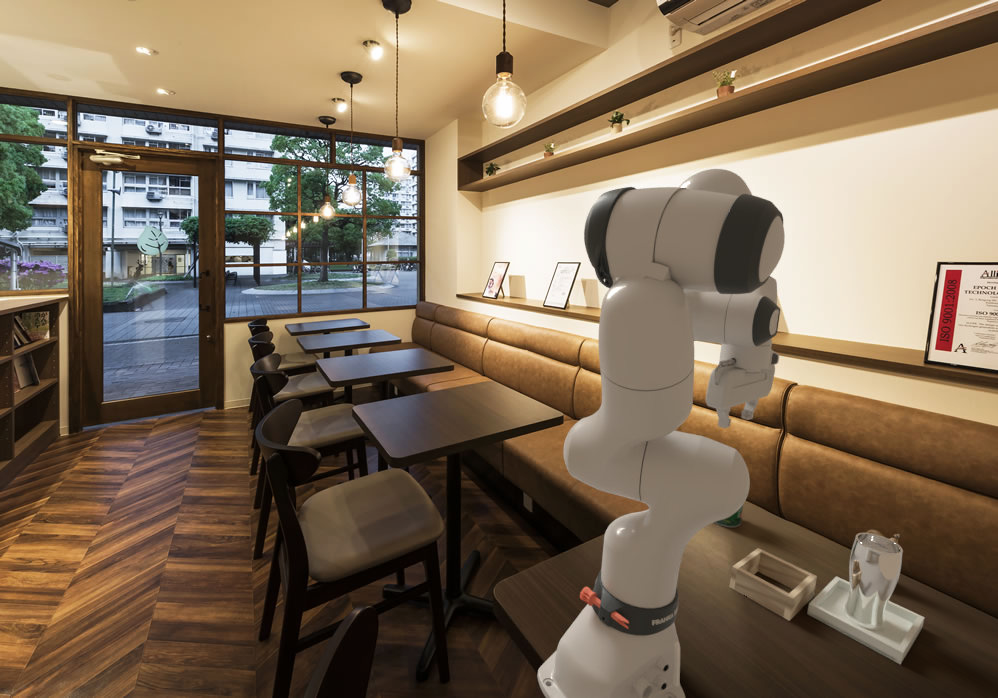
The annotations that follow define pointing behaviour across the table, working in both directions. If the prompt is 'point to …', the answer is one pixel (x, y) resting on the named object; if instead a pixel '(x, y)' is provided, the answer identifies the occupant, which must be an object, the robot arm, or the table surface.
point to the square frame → (768, 593)
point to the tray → (887, 641)
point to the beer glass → (872, 579)
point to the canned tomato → (732, 520)
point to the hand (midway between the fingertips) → (735, 422)
